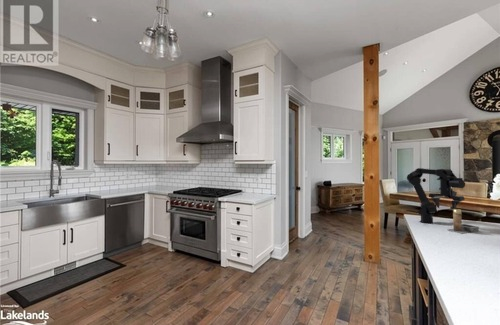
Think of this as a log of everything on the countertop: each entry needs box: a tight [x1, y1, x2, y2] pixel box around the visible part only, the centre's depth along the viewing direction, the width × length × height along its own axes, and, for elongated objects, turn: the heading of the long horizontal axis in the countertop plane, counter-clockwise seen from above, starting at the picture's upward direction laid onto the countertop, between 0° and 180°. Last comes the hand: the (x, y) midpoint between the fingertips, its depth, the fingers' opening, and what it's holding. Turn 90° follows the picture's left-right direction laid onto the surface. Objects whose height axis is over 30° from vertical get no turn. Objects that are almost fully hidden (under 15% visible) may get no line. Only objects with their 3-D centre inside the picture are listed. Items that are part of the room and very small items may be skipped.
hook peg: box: [452, 208, 463, 232], centre depth 148 cm, size 4×4×14 cm
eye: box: [462, 223, 480, 234], centre depth 150 cm, size 8×8×3 cm
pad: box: [447, 228, 469, 235], centre depth 148 cm, size 8×7×1 cm
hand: (445, 209), depth 157 cm, fingers open, 9 cm apart
